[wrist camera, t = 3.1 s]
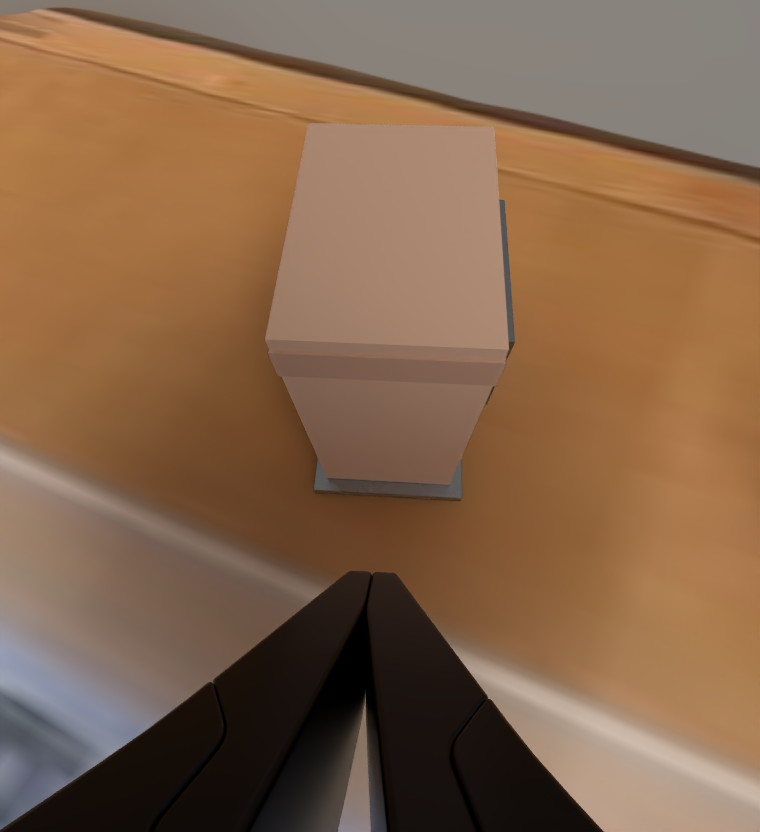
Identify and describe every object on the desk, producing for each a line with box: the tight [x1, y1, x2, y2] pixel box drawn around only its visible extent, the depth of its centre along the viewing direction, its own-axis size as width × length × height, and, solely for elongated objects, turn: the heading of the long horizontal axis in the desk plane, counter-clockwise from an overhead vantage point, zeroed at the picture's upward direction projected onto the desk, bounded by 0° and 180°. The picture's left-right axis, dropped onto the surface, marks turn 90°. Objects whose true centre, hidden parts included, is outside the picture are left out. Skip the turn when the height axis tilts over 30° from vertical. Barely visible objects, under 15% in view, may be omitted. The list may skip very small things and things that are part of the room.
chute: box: [314, 200, 515, 501], centre depth 19 cm, size 12×8×5 cm
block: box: [265, 123, 509, 485], centre depth 15 cm, size 7×5×10 cm
